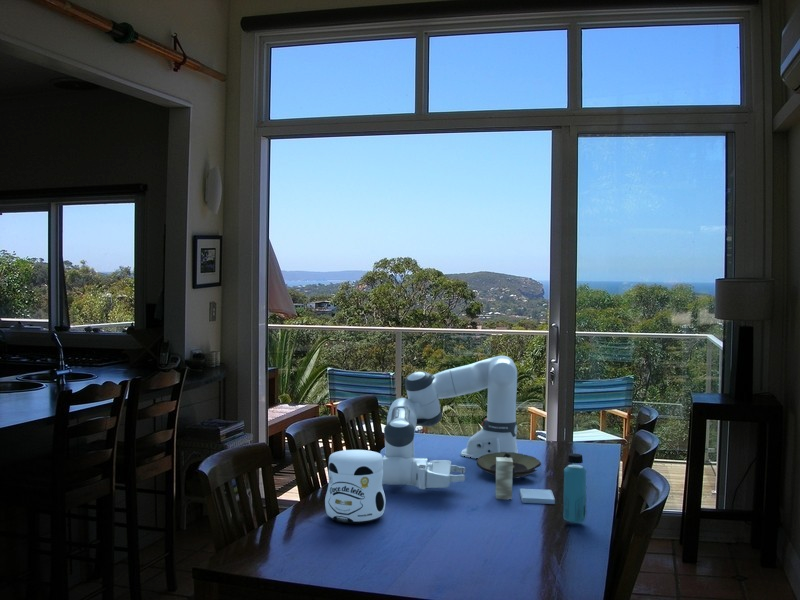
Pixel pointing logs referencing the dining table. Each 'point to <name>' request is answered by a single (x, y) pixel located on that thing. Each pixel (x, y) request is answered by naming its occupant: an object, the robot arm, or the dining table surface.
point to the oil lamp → (520, 463)
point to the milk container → (355, 486)
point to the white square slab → (537, 496)
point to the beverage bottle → (575, 490)
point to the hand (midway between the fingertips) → (465, 473)
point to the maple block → (504, 478)
